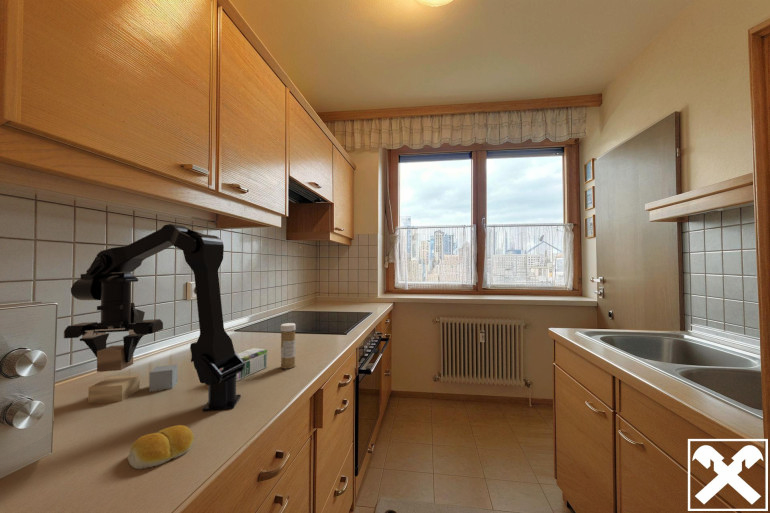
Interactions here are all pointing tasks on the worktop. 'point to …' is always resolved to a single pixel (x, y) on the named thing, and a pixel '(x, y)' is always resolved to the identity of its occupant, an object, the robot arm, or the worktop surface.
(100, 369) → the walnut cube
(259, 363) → the syrup box
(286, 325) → the sprinkles bottle
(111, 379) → the oak base block
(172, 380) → the slate-grey cube
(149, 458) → the bread roll
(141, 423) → the worktop surface
